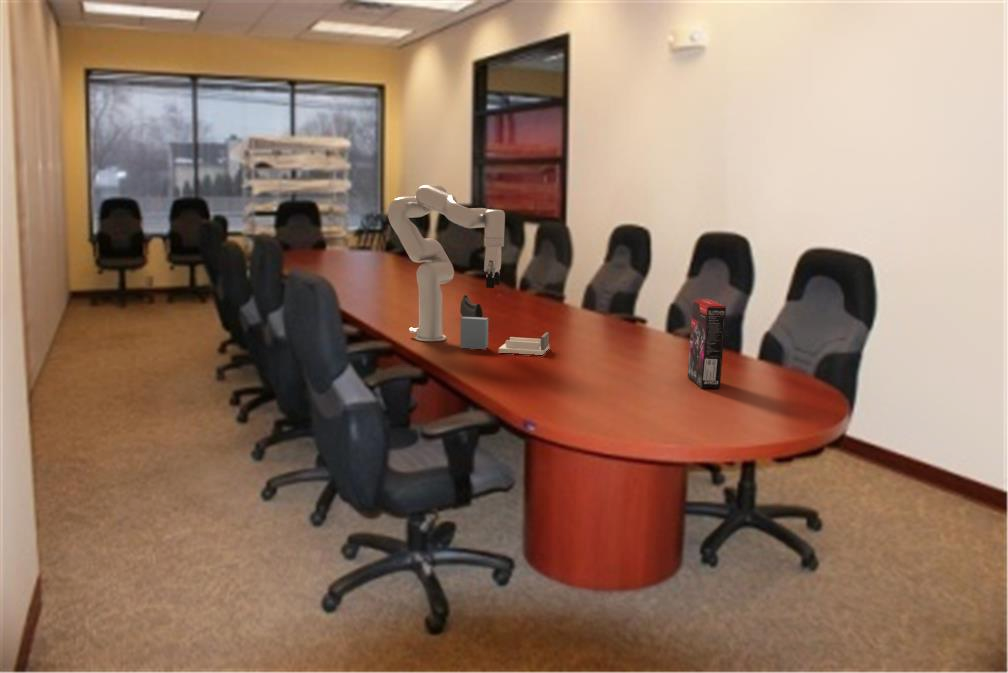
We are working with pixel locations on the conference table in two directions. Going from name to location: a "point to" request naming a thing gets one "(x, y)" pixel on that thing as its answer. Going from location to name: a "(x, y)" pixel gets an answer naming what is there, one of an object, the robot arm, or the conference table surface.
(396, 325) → the conference table surface
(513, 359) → the conference table surface
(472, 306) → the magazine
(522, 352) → the cream railed panel
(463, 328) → the gray rectangular block
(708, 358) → the graphics card box
